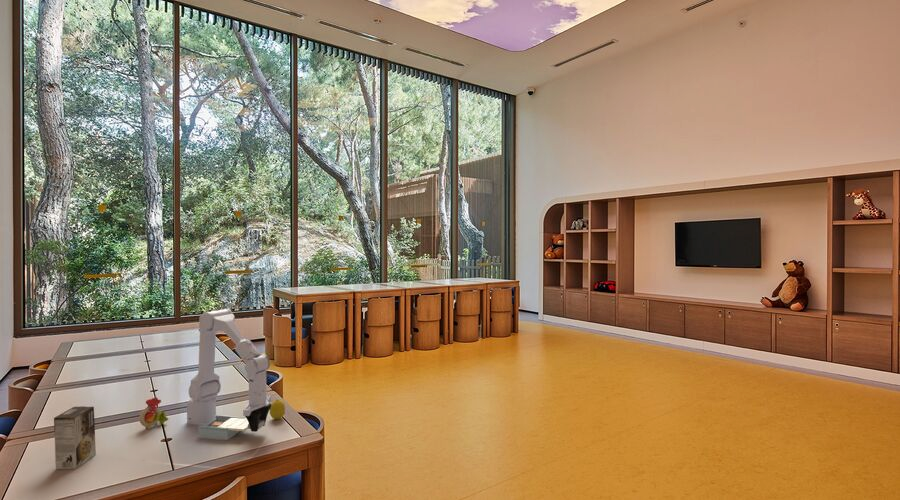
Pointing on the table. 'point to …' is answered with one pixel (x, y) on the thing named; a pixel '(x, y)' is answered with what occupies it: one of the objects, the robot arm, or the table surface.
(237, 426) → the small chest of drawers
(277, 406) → the lemon
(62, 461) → the coffee box
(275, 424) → the table surface
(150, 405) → the bird rattle
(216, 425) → the block
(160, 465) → the table surface
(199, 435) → the tub
